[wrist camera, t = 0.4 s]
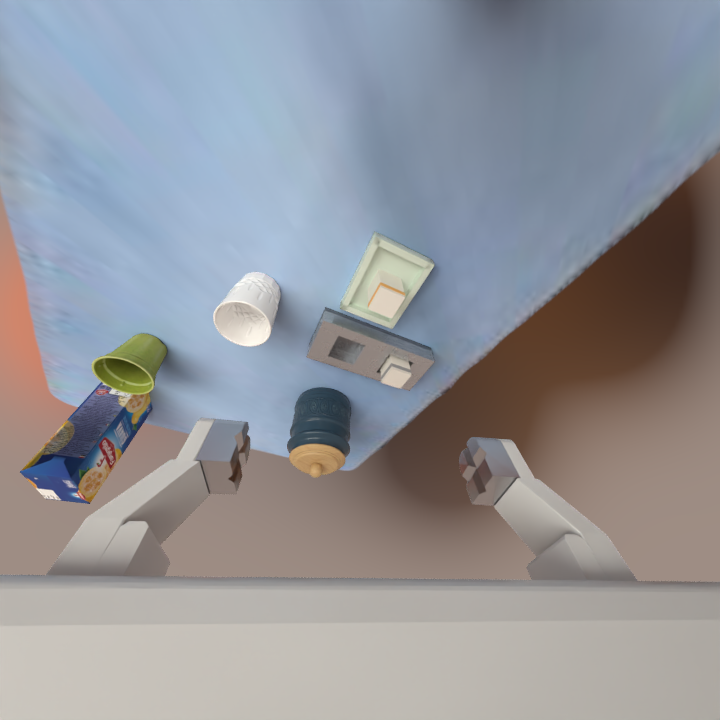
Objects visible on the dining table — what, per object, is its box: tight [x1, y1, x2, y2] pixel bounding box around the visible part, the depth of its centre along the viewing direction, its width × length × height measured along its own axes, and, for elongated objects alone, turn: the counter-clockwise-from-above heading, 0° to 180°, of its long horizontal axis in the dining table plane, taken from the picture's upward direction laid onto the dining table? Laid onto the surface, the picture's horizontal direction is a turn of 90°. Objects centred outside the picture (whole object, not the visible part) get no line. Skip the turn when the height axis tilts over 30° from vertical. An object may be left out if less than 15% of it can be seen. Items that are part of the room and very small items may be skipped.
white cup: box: [213, 272, 281, 346], centre depth 44 cm, size 8×8×10 cm
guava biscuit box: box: [20, 382, 152, 504], centre depth 57 cm, size 7×11×22 cm, turn 161°
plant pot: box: [92, 334, 167, 395], centre depth 53 cm, size 9×9×9 cm
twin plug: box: [380, 354, 411, 389], centre depth 55 cm, size 4×4×6 cm
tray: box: [340, 232, 435, 329], centre depth 46 cm, size 13×10×2 cm
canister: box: [287, 388, 351, 478], centre depth 62 cm, size 13×13×18 cm
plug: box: [368, 269, 405, 319], centre depth 44 cm, size 4×4×6 cm
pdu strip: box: [307, 307, 435, 391], centre depth 55 cm, size 9×22×4 cm, turn 65°
